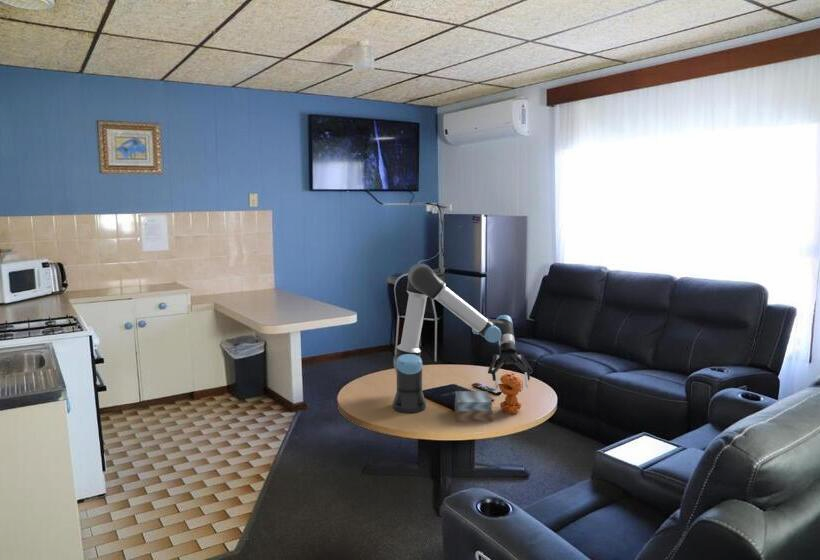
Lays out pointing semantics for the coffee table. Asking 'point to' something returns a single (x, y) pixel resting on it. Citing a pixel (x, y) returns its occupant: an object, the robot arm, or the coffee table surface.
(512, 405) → the orange figurine
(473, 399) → the grey square block
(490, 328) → the robot arm
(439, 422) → the coffee table surface
